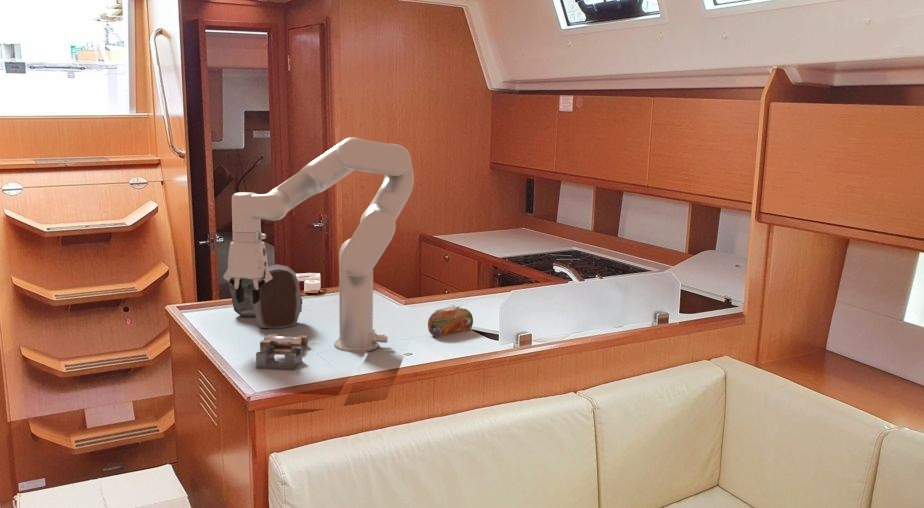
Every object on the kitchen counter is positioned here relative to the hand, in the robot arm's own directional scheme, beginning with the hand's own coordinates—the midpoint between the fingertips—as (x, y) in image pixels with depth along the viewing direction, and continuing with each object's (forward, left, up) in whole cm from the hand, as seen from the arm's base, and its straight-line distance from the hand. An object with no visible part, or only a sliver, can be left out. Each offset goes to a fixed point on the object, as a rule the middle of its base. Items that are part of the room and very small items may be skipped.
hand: (248, 301), depth 212 cm
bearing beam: (-10, 0, -13) cm, 17 cm away
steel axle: (-10, +1, -11) cm, 15 cm away
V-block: (-13, +14, -13) cm, 23 cm away
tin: (-55, -21, -14) cm, 60 cm away
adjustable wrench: (-50, -34, -13) cm, 62 cm away
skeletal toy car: (+6, -67, -14) cm, 69 cm away
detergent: (+11, -33, -13) cm, 38 cm away
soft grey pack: (-1, -23, -13) cm, 27 cm away
